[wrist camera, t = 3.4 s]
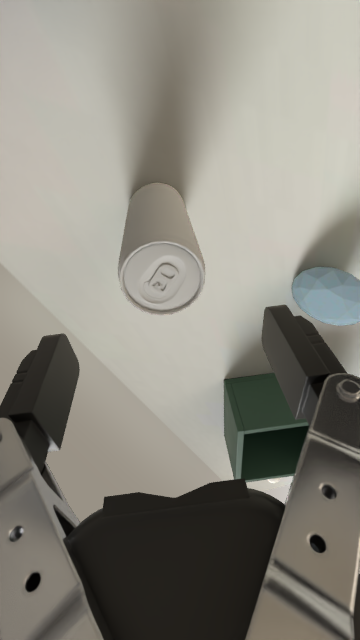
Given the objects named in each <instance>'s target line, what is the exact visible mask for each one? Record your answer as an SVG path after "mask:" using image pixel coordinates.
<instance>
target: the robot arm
mask: <svg viewBox="0 0 360 640" xmlns="http://www.w3.org/2000/svg"><path fill="white" fill-rule="evenodd" d="M262 344H263V348H264V351H265V353H266V356H267V358H268V360H269V362H270V365H271V367H272V369H273V371H274V374H275V376H276V378H277V380H278V382H279V385H280V387H281V389H282V391H283V394H284V396H285V398H286V400H287V403H288V405H289V407H290V409H291V412H292V414H293V416H294V418H295V420H297V419H305V418H306V420H307V422H308V424H309V429H308V432H307V435H306V438H305V441H304V444H303V448H302V451H301V454H300V457H299V460H298V464H297V467H296V470H295V473H294V476H293V480H292V483H291V486H290V489H289V492H288V495H287V498H286V502H285V504H283V503H282V502H280V501H279V500H277V499H275V498H274V497H272V496H270V495H268V494H266V493H264V492H261V491H258V490H254V489H249V488H247V485H246V481H245V478H243V479H235V480H228V481H220V482H213V483H209V484H207V485H204V486H202V487H200V488H198V489H195V490H193V491H191V492H188V493H186V494H184V495H182V496H179V497H177V498H170V497H164V496H158V495H152V494H145V493H140V492H138V493H130V494H123V495H115V496H108V497H104V504H103V508H102V509H100V510H98V511H97V512H95V513H93V514H92V515H90V516H89V517H87V518H86V519H85V520H83V521H82V522H81V523H80V521H79V520H78V518H77V517H76V515H75V514H74V512H73V511H72V510H71V508H70V506H69V505H68V503H67V501H66V499H65V497H64V495H63V493H62V491H61V489H60V487H59V485H58V484H57V482H56V480H55V478H54V476H53V474H52V472H51V470H50V468H49V466H48V464H47V463H46V462H45V460H46V457H47V453H48V452H49V451H57V450H60V448H61V444H62V440H63V436H64V432H65V428H66V424H67V420H68V416H69V412H70V408H71V404H72V400H73V397H74V393H75V389H76V385H77V380H78V376H79V362H78V360H77V357H76V355H75V353H74V351H73V349H72V347H71V344H70V342H69V340H68V338H67V336H66V335H65V334H56V335H48V336H44V337H43V338H42V339H41V341H40V344H39V346H38V348H37V350H33V351H31V352H30V353H29V354H28V355H27V356H26V357H25V358H24V359H23V360H22V362H21V364H20V366H19V368H18V370H17V374H16V375H15V376H14V379H13V380H12V384H11V385H10V387H9V389H8V391H7V393H6V395H5V397H4V399H3V401H2V403H1V405H0V640H360V574H359V567H360V378H359V377H357V376H354V375H351V374H348V373H347V372H346V371H345V369H344V368H343V367H342V365H341V364H340V362H339V361H338V360H337V358H336V357H335V355H334V354H333V352H332V351H331V350H330V348H329V347H328V345H327V344H326V343H324V340H323V338H322V337H321V336H320V335H319V334H318V331H317V330H316V329H315V327H314V326H313V324H312V323H311V322H309V321H308V320H306V319H305V318H303V317H302V316H293V314H292V313H291V311H290V310H289V308H288V307H287V306H286V305H279V306H271V307H266V308H265V311H264V320H263V329H262Z"/></svg>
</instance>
